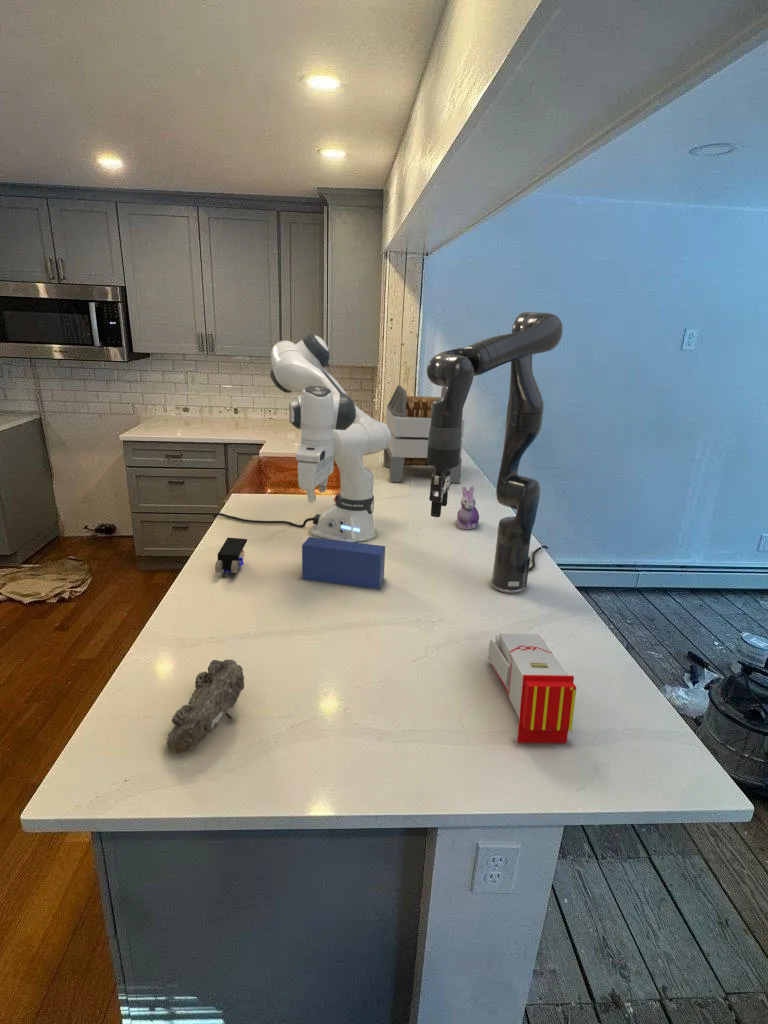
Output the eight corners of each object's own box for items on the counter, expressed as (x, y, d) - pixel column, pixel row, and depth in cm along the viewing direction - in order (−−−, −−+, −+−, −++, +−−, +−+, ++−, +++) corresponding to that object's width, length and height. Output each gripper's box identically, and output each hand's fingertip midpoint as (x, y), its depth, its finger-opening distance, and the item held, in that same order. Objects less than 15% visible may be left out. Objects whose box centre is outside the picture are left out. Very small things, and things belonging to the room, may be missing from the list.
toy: (536, 617, 130) (585, 683, 100) (531, 671, 132) (578, 750, 103) (483, 616, 129) (518, 682, 100) (479, 670, 132) (511, 749, 103)
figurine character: (238, 584, 162) (249, 557, 175) (236, 562, 158) (247, 536, 172) (215, 584, 161) (227, 556, 175) (212, 561, 158) (225, 535, 171)
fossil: (192, 660, 117) (244, 628, 112) (224, 691, 120) (276, 661, 115) (142, 746, 98) (202, 712, 93) (182, 779, 101) (242, 748, 96)
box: (302, 578, 164) (301, 544, 160) (309, 569, 170) (309, 536, 166) (379, 589, 160) (380, 554, 156) (383, 579, 166) (385, 546, 162)
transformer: (382, 463, 289) (386, 382, 275) (445, 464, 293) (451, 384, 279) (390, 482, 257) (394, 392, 243) (460, 483, 261) (468, 394, 247)
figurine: (464, 532, 204) (468, 492, 199) (449, 522, 212) (452, 484, 207) (486, 528, 208) (490, 489, 203) (469, 519, 216) (473, 481, 211)
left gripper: (318, 439, 163) (318, 485, 168) (293, 455, 145) (293, 506, 149) (339, 441, 162) (338, 487, 167) (316, 458, 143) (316, 509, 148)
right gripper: (455, 453, 123) (449, 522, 128) (465, 439, 136) (459, 503, 141) (421, 449, 125) (417, 518, 130) (434, 436, 137) (429, 500, 143)
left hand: (317, 496), depth 158 cm, fingers open, 8 cm apart
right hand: (438, 510), depth 136 cm, fingers open, 8 cm apart
